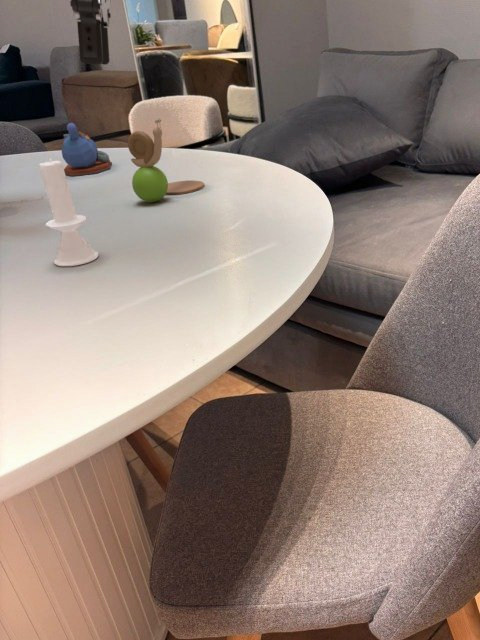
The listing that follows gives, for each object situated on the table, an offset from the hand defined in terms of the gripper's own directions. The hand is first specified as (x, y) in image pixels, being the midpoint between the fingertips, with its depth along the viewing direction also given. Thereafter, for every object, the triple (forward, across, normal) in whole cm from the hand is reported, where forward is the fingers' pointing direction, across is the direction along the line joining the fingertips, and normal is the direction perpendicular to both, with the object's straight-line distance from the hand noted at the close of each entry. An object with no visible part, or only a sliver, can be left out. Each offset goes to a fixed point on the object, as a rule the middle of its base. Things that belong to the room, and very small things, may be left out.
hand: (95, 64), depth 69 cm
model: (+19, -60, -8) cm, 63 cm away
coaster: (+18, -32, +9) cm, 38 cm away
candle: (+22, 0, -4) cm, 22 cm away
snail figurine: (+19, -25, +6) cm, 32 cm away
